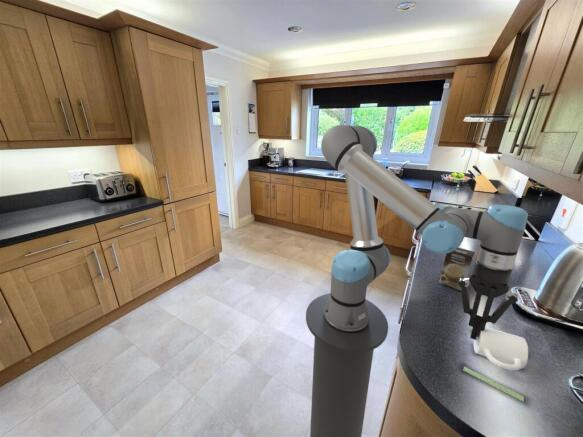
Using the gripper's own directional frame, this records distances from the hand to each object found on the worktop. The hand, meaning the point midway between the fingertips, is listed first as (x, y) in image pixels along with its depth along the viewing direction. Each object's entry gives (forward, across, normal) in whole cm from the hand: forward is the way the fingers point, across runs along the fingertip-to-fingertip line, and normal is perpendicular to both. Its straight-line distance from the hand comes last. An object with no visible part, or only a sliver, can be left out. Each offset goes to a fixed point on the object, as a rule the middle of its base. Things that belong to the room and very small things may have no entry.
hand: (473, 336), depth 71 cm
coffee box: (+5, -11, +36) cm, 38 cm away
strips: (+5, +6, 0) cm, 7 cm away
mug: (+5, +6, 0) cm, 8 cm away
